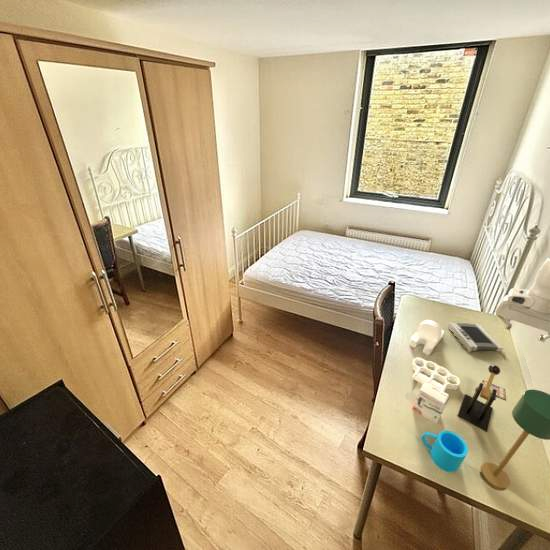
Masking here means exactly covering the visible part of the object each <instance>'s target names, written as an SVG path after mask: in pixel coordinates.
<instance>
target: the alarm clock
mask: <svg viewBox="0 0 550 550" xmlns="http://www.w3.org/2000/svg"><path fill="white" fill-rule="evenodd" d="M447 328H448V330H449V329H450V330H451V331H452V332H453V333H454V334H453V333H452V332H451V331H450V330H449V331H450V332H451V333H452V334H453V335H454V337H455V336H456V337H457V338H458V339H459V340H458V339H457V338H456V337H455V338H456V339H457V340H458V341H459V342H460V344H461V345H462V344H463V345H462V346H463V347H464V348H465V349H466V350H467V352H468V353H472V352H475V351H479V350H481V351H482V350H490V351H491V350H493V351H495V352H502V351H503V350H504V347H503V346H502V345H501V344H500V343H499V342H498V341H497V340H496V339H495V338H494V337H493V336H492V335H491V334H490V333H489V332H487V330H485V329H484V328H483V326H481V324H478V323H474V324H473V323H467V322H466V323H465V322H459V323H458V322H457V323H456V322H451V321H450V322H449V324H448V326H447Z"/></svg>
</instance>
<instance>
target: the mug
mask: <svg viewBox="0 0 550 550" xmlns="http://www.w3.org/2000/svg"><path fill="white" fill-rule="evenodd" d="M426 437H431V438H435V439H434V442H433V445H431V444H430V443H428V442H427V440H426V439H425V438H426ZM420 438H421V442H422V443H423V445H424V446H425V447H426V448H427V449H428V450H430V452H429V453H430V454H429V455H430V458H431V460H432V462H433V463H434V465H436V466H437V467H438V468H439V469H441V470H442V471H444V472H447V473H455V472H457V471H458V470H459V469H460V467H461V465H462V463H463V462H464V460H465V459H466V457H467V455H468V452H469V447H468V444H467V443H466V441H465V439H463V438H462V437H461V435H459V434H457V433H456V432H453V431H452V430H451V431H450V430H441V431H439V433H438V434H437V433H433V432H428V431H427V432H423V433H422V434H421V436H420Z"/></svg>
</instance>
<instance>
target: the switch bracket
mask: <svg viewBox="0 0 550 550" xmlns="http://www.w3.org/2000/svg"><path fill="white" fill-rule="evenodd" d="M482 387H483V384H482V382H479V384H478V386H477V387H475V389H474V393H473V394H472V396H470V395H469V394H466V393H465V394H464V396H463V399H462V402H461V405H460V406H459V407H460V408H459V410H458V413H457V417H458V418H461V419H462V420H464V421H465V422H467V423H469V424H470V425H473V426H475V427H477V428H478V429H480V430H482V431H484V432H485V433H487V432H488V429H489V425H490V423H491V417H492V413H493V410H494V408H493V407H492V405H493V403H494V401H496V400H497V398H498V397H496V392H497V390H495V389H493V391H492V392H491V394H490V396H489V398H488V400H486V401H485V403H484V402H483V401H480V400H479V397H480V394H481V392H482Z"/></svg>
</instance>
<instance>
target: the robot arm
mask: <svg viewBox="0 0 550 550" xmlns="http://www.w3.org/2000/svg"><path fill="white" fill-rule="evenodd" d="M533 281H534V282H533V283H532V285H530V286H529V288H515V287H513V288H510V290H509V291H508V294H506V295H505V296H503V297H502V298H501V299H500V301H499V302H498V304H497V306H496V308H495V310H494V312H495V314H496V315H497V316H499V317H502V318H504V323H505V327H504V329H505V330H508V331H511V329H512V327H513V324H512V323H510V322H511V321H514V322H517V323H518V324H519V323H520V324H523V325H526V326H529V327H531V328H535V329H538V330H540V331H544V332H546V334H540V335H539V337H538V341H539V342H542V343H545V342H546V340H548V339H550V256H549V257H547V259H545V260H544V262H543V263H542V264H541V266H540V267H539V269H538V271H537V273H536V274H535V277H534V280H533Z"/></svg>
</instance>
